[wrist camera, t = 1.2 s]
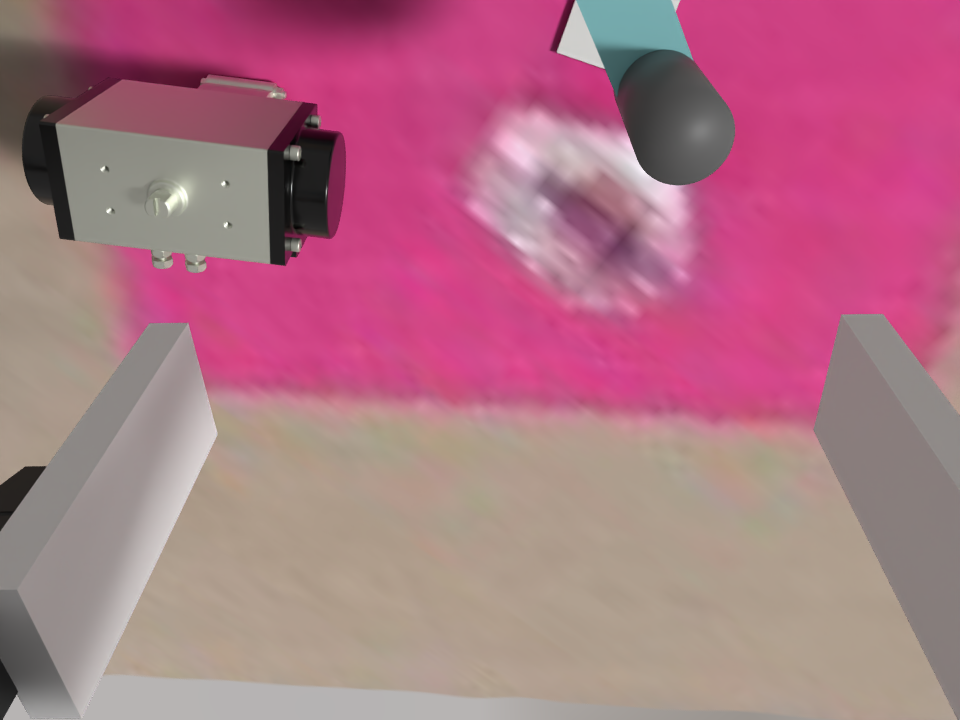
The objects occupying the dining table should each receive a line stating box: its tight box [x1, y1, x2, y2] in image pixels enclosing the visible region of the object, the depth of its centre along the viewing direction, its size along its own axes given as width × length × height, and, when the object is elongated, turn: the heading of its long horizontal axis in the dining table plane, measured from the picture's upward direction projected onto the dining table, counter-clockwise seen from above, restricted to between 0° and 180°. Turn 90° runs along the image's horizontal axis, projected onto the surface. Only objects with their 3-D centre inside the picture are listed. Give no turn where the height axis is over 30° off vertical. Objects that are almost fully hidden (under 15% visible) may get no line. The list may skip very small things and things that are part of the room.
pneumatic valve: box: [22, 74, 346, 273], centre depth 35 cm, size 6×12×12 cm, turn 83°
